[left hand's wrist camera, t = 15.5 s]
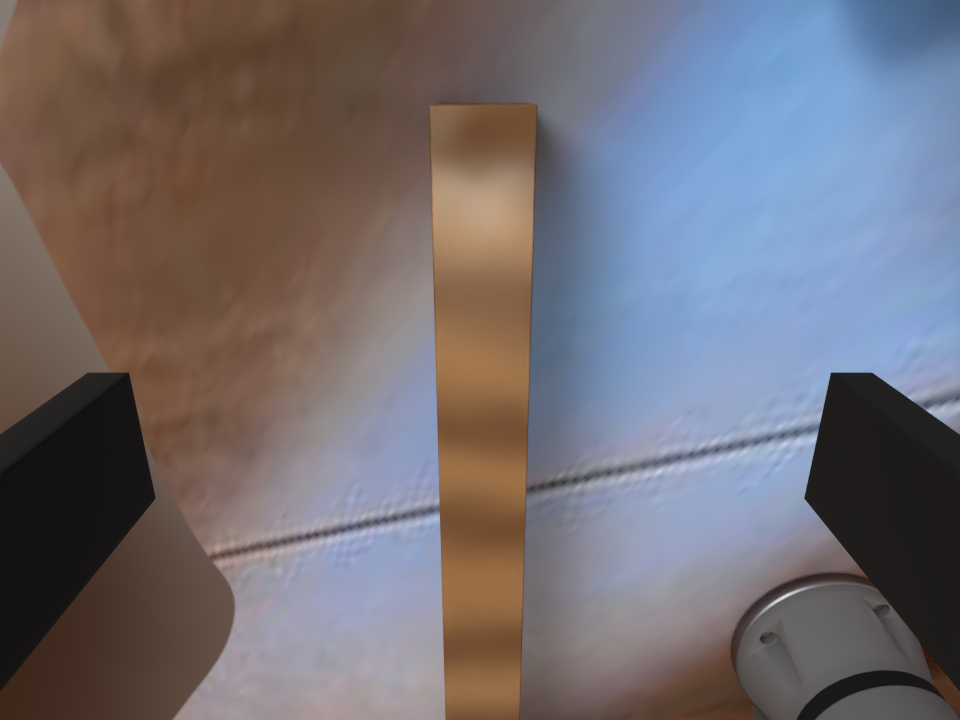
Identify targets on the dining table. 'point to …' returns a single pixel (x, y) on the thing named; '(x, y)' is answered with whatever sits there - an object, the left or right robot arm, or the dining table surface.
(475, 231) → the beam
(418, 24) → the dining table surface
